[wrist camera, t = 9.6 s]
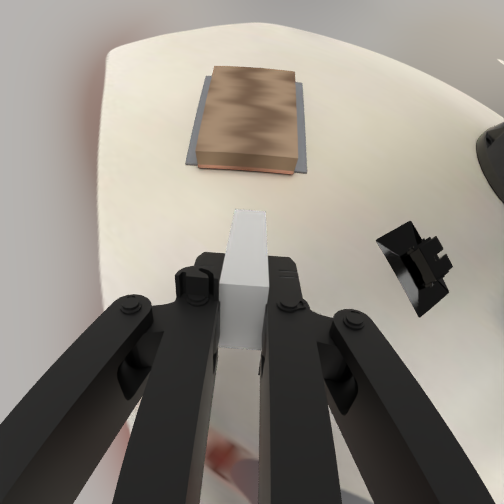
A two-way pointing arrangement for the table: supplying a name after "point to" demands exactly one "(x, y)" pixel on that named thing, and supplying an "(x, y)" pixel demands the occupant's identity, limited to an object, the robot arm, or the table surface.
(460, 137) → the table surface
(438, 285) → the black notched bracket mount
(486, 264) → the table surface
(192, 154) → the felt mat
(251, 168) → the mottled brown tile
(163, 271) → the table surface
